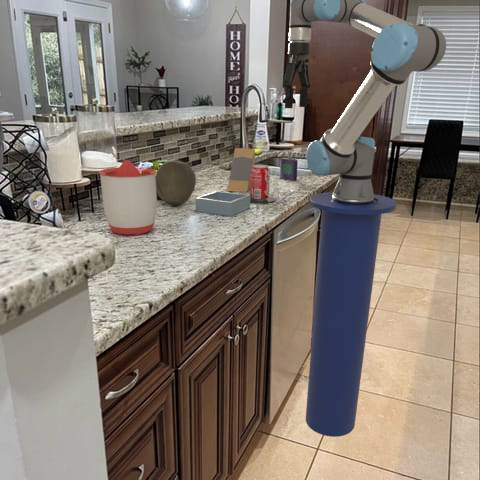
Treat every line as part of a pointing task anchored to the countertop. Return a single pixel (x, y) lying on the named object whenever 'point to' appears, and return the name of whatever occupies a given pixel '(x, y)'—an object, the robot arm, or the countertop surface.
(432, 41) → the robot arm
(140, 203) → the citrus juicer
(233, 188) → the sandwich container
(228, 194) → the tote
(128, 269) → the countertop surface
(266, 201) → the coaster
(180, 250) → the countertop surface
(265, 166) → the soda can
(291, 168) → the dark purple green box
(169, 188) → the cantaloupe
